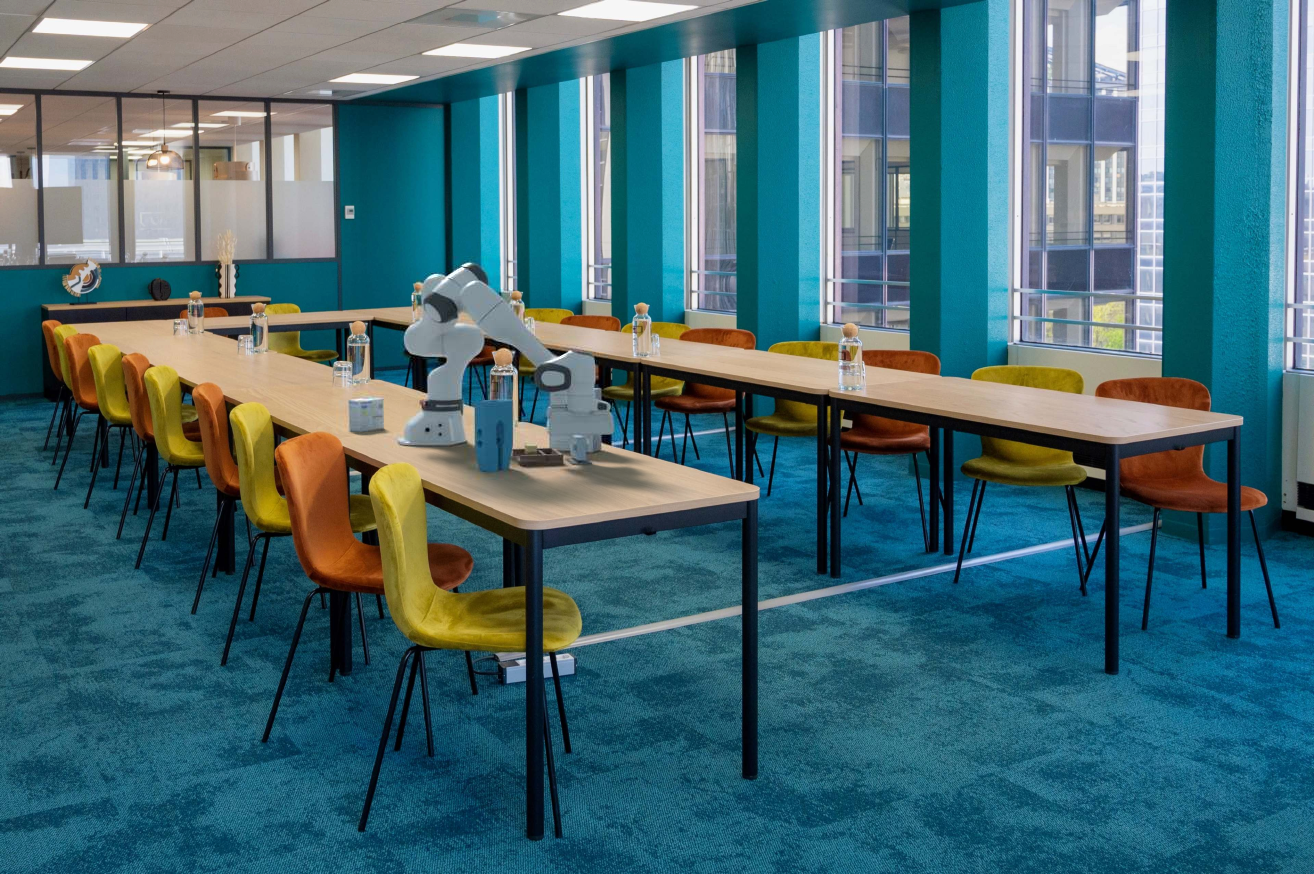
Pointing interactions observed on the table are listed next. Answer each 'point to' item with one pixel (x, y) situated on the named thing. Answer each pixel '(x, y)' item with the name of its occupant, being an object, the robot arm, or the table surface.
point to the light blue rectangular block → (579, 447)
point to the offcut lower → (530, 453)
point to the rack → (538, 457)
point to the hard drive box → (562, 441)
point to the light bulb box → (366, 414)
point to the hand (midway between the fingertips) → (580, 449)
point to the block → (493, 434)
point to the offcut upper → (531, 447)
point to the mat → (577, 461)
